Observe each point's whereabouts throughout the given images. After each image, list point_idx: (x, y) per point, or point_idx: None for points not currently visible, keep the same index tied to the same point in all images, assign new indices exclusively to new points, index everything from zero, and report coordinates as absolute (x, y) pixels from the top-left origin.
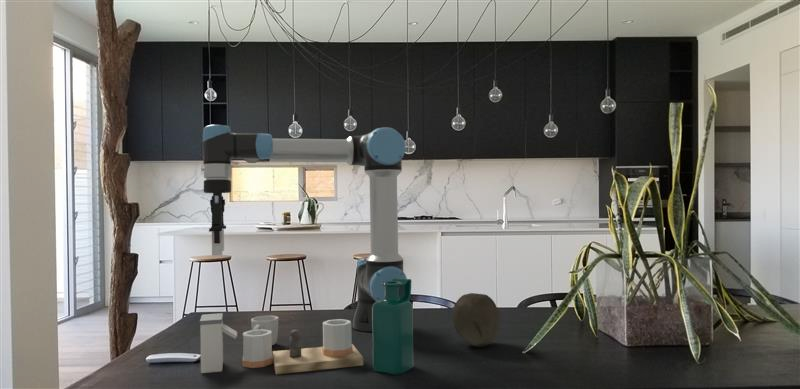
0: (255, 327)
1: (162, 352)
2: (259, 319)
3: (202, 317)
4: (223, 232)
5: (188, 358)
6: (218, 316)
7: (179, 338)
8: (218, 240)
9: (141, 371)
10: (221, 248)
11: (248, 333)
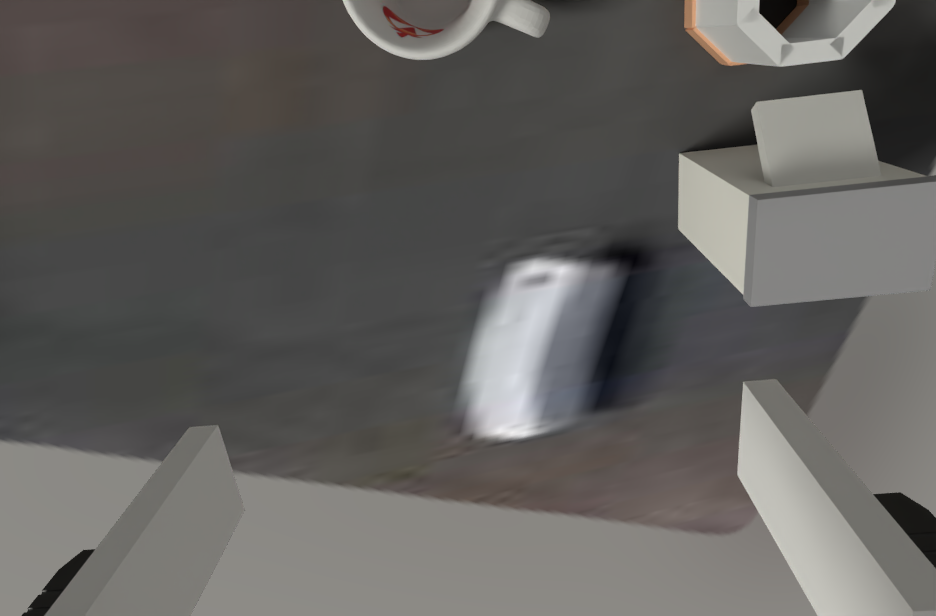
0: (532, 21)
1: (459, 403)
2: (369, 11)
3: (835, 292)
4: (91, 612)
5: (573, 297)
6: (849, 210)
7: (248, 388)
8: (932, 532)
9: (692, 414)
10: (813, 430)
11: (778, 35)
